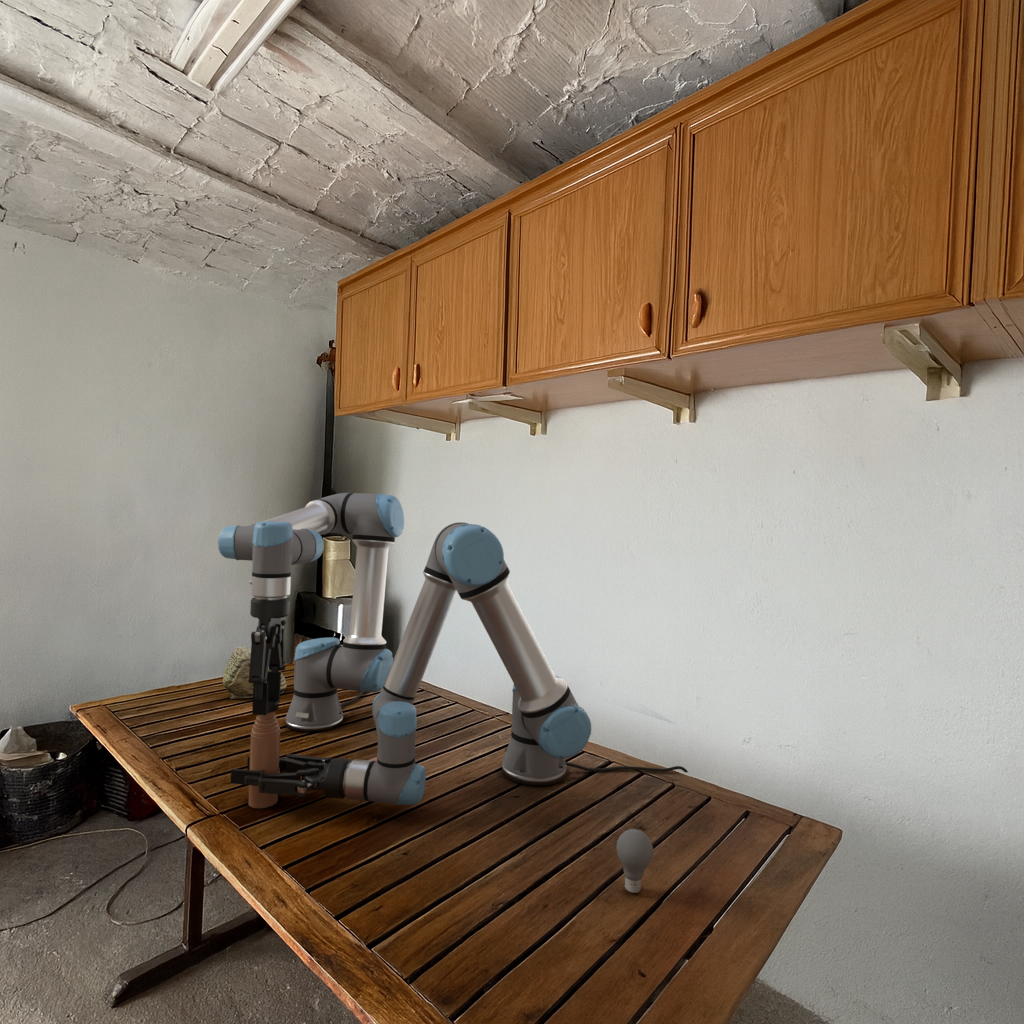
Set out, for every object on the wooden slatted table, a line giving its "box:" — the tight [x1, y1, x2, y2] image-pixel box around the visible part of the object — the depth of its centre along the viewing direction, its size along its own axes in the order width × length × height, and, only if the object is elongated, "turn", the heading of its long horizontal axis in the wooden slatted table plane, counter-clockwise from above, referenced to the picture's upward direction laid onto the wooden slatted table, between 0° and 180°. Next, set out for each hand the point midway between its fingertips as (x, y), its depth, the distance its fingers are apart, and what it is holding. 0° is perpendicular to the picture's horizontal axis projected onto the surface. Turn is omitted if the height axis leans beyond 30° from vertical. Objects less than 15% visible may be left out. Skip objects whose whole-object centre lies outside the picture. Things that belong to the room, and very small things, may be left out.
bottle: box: [247, 711, 281, 809], centre depth 130 cm, size 6×6×20 cm
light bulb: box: [615, 828, 654, 894], centre depth 106 cm, size 6×6×10 cm
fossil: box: [222, 646, 288, 699], centre depth 198 cm, size 9×18×15 cm, turn 132°
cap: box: [267, 698, 280, 713], centre depth 130 cm, size 5×5×2 cm
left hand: (266, 708), depth 130 cm, fingers open, 7 cm apart
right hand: (240, 769), depth 131 cm, fingers closed on bottle, 6 cm apart
